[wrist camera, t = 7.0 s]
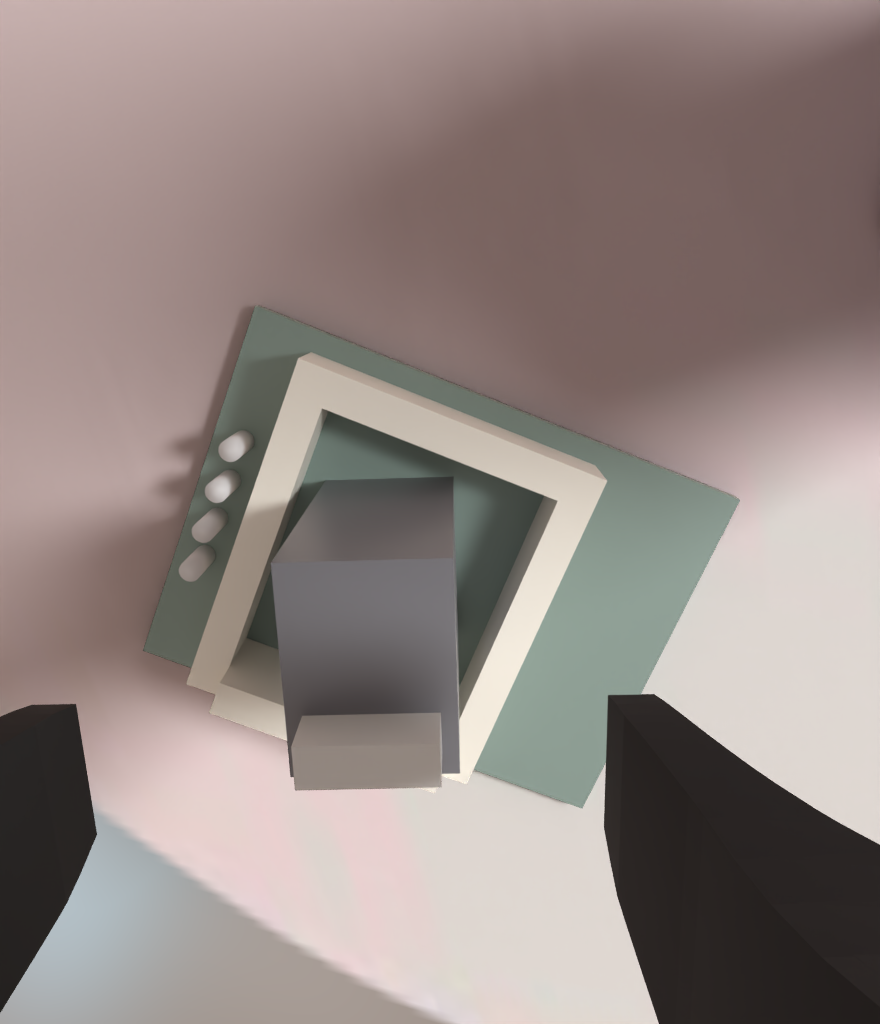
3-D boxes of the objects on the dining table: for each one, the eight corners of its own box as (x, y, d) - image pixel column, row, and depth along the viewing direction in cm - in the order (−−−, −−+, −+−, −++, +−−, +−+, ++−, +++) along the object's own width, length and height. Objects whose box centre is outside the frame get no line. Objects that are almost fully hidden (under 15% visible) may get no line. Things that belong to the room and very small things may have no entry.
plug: (453, 476, 19) (453, 579, 12) (458, 634, 20) (460, 808, 13) (325, 480, 19) (256, 584, 12) (337, 637, 20) (279, 811, 14)
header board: (734, 496, 20) (779, 529, 17) (579, 799, 22) (597, 871, 19) (259, 305, 19) (226, 308, 16) (148, 643, 21) (103, 696, 18)
